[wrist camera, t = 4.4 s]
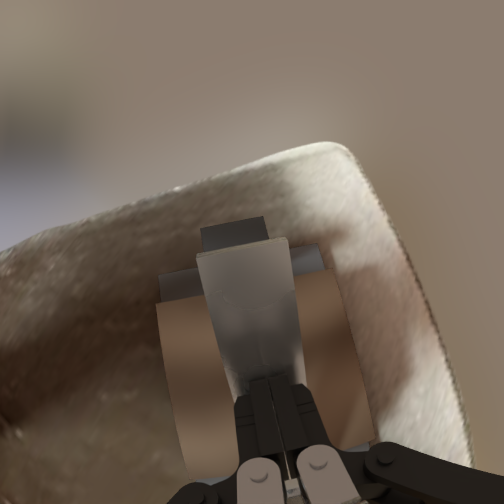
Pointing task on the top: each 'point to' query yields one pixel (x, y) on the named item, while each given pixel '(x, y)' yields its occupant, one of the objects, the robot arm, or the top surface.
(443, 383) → the top surface
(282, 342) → the strap
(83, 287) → the top surface
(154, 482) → the top surface
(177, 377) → the latch block
